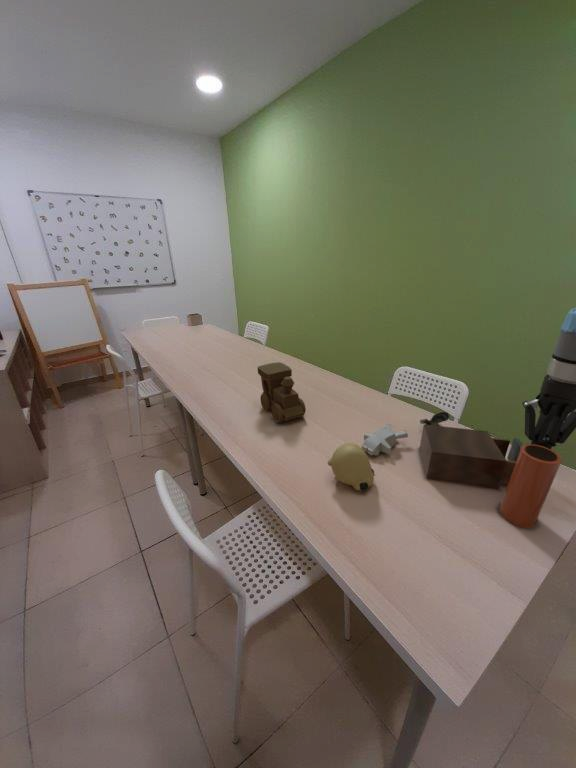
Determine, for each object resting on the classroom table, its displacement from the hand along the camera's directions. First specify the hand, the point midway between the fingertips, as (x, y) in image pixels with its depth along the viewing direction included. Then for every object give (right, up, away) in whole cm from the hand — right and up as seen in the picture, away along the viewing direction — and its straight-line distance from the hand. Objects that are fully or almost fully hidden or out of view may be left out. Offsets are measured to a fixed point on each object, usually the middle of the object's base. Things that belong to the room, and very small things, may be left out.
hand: (534, 462), depth 77 cm
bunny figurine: (-34, +1, +16) cm, 38 cm away
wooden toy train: (-66, +9, +37) cm, 76 cm away
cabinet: (-17, -3, +6) cm, 18 cm away
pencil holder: (-12, -9, -10) cm, 18 cm away
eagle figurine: (-15, +5, +24) cm, 28 cm away
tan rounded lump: (-47, -5, +2) cm, 47 cm away
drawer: (-9, -3, +4) cm, 10 cm away
